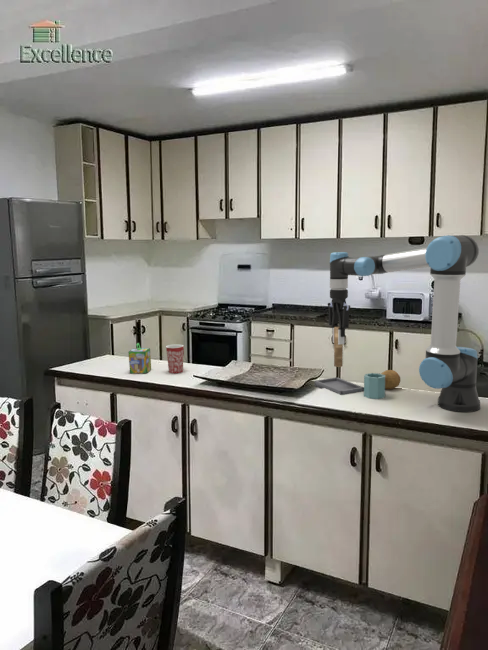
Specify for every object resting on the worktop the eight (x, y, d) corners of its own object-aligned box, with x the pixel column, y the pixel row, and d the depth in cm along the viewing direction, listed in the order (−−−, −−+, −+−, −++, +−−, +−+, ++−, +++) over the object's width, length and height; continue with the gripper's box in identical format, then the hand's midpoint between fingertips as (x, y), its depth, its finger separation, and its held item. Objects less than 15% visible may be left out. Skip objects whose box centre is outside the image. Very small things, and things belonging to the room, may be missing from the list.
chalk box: (146, 373, 266) (145, 345, 263) (129, 373, 267) (127, 345, 264) (152, 369, 275) (150, 341, 272) (135, 369, 276) (133, 341, 274)
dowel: (344, 366, 226) (344, 327, 224) (337, 367, 225) (337, 328, 222) (339, 364, 230) (339, 326, 227) (332, 365, 228) (332, 327, 225)
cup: (389, 399, 213) (389, 376, 211) (372, 402, 209) (373, 379, 208) (376, 394, 220) (376, 372, 218) (360, 397, 217) (360, 374, 215)
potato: (402, 385, 232) (402, 368, 231) (398, 394, 219) (398, 375, 218) (379, 383, 236) (380, 366, 235) (374, 392, 223) (374, 373, 222)
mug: (179, 374, 262) (177, 348, 260) (163, 373, 266) (162, 347, 264) (191, 368, 273) (190, 343, 271) (176, 367, 277) (175, 342, 275)
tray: (364, 393, 222) (364, 387, 222) (340, 397, 217) (340, 391, 217) (336, 382, 240) (336, 377, 240) (314, 385, 235) (314, 380, 235)
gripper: (358, 289, 216) (357, 345, 220) (334, 287, 231) (334, 339, 235) (343, 290, 213) (342, 347, 217) (320, 288, 228) (320, 341, 232)
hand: (338, 343), depth 226 cm, fingers closed on dowel, 3 cm apart
